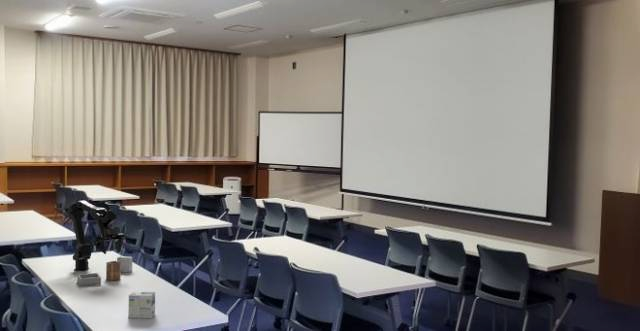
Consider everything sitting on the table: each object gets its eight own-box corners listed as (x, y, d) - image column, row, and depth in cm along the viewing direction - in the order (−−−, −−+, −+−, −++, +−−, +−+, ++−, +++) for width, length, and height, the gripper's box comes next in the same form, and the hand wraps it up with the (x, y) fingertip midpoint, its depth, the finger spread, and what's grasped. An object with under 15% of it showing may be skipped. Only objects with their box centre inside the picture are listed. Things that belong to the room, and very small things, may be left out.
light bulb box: (155, 314, 264) (155, 291, 263) (151, 318, 257) (152, 295, 256) (132, 313, 263) (132, 290, 263) (127, 318, 257) (128, 294, 256)
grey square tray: (77, 281, 315) (77, 274, 315) (97, 279, 320) (97, 272, 320) (80, 286, 306) (80, 279, 306) (100, 284, 311) (100, 277, 311)
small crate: (106, 279, 321) (106, 262, 321) (114, 277, 326) (115, 260, 325) (111, 281, 318) (112, 263, 317) (120, 279, 322) (120, 262, 322)
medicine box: (132, 270, 344) (132, 256, 343) (129, 272, 339) (129, 258, 339) (120, 270, 345) (120, 255, 344) (116, 271, 340) (116, 257, 340)
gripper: (96, 223, 316) (105, 249, 312) (125, 220, 331) (134, 244, 327) (87, 232, 322) (95, 257, 317) (115, 228, 337) (124, 252, 332)
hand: (112, 252), depth 323 cm, fingers open, 9 cm apart
